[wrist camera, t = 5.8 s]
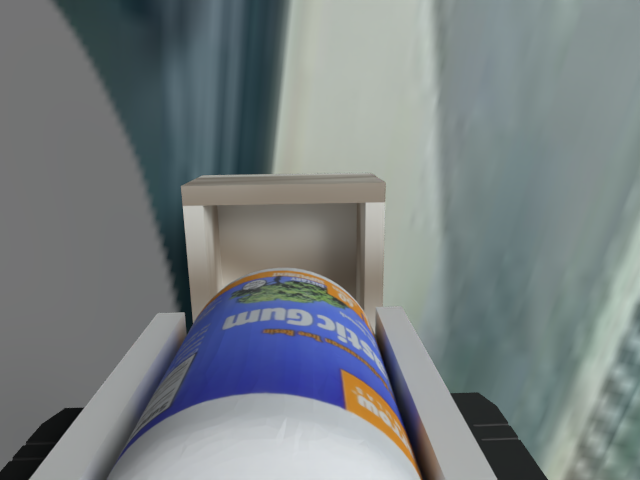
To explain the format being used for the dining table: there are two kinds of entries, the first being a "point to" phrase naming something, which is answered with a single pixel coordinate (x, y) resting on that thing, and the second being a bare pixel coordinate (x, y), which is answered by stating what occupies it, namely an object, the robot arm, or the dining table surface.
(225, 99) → the dining table surface
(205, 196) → the open box
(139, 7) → the dining table surface
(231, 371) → the pill bottle
